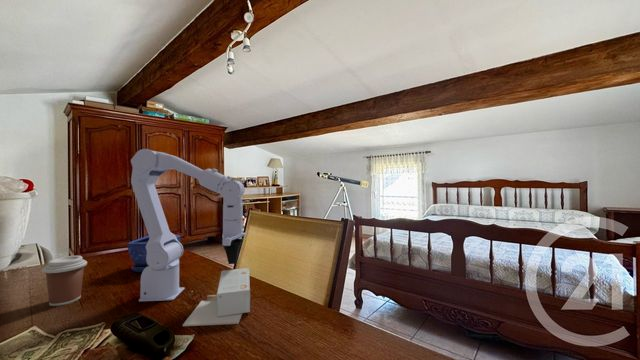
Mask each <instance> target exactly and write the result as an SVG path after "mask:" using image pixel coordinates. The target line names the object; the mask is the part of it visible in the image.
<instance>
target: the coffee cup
mask: <svg viewBox="0 0 640 360" xmlns="http://www.w3.org/2000/svg"><path fill="white" fill-rule="evenodd" d="M87 265H88V261H87V260H85V259H83V256H81V255H68V256H61V257H57V258H54V259H50V260H49V261H48V262H47V265H46V266H44V267H43V268H42V270H41V272H42V274H43V273H44V274H45V277H46V278H45V279H46V286H47V287H46V288H47V296H48V305H49V306H52V307H60V306H63V305H68V304H72V303H74V302H76V301H78V300H80V299H81V297H82V287H83V279H84V270H85V267H86V266H87Z"/></svg>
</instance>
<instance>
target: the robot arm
mask: <svg viewBox="0 0 640 360" xmlns="http://www.w3.org/2000/svg"><path fill="white" fill-rule="evenodd" d="M130 163H131V167H132V171H131V177H130V182H131V187H132V189H133V193H134V196H135V199H136V202H137V205H138V208H139V211H140V214H141V217H142V219H143V222H144V226H145V229H146V232H147V234H148V235H147V236H149V241H148V243H147V245H146V251H147V256H146V262H147V264H148V265H149V266H148V267H146V268H145V269H144V270H143V272H141V275H140V287H139V288H140V289H139V290H140V292H139V294H140V296H139V299H138V302H155V301H156V302H158V301H173V300H175V299H176V298H177V297H178V296H179V295H180V294H181V293H182V292H183V291H184V290H185V287H181V286H180V258H181V257H182V256H183V254H184V246H183V244H182V243H181V241H180V242H179V241H178V240H177V238H176V234H174V233H172V232H171V230H170V228H169V224H168V221H167V218H166V215H165V213H164V210H163V206H162V203H161V200H160V197H159V194H158V191H157V188H156V183H157V181H158V179H160V177H161V176H163V175H164V174H166V172H168V171H169V170H175V171H178V172H180V173H182V174H184V175H187V176H189V177H192V178H194V179H197V181H198V183H199V185H200V187H201V186H202V187H204V188H206V189H208V190H210V191H212V192H214V193H216V194H219V195H221V197H222V198H223V204H222V235H221V236H222V237H221V238H222V241H221V246H222V247H223V249H224V251H225V254H226V259H227V262H228V264H229V265H236V264H237V262H238V258H239V253H240V249H241V246H242V244H243V242H244V238H242V237H246V236H247V232H243V226H244V225H243V222H244V221H243V217H244V212H243V211H244V210H243V206H244V205H243V195H244V193H245V190H246V189H245V186H244V184H243V182H241V181H239V180H238V179H233V178H232V176H230V175H228V176H226V175H224V174H222V173H220V172H218V169H217V168H206V169H201V167H198V166H196V165H194V164H192V163H190V162H189V161H186V160H184V159H182V158H180V157H178V156H177V155H172V154H169V153H167V152H164V151H163V152H162V151H156V150H152V149H150V148H149V149H148V148H142V149H139V150H137V151H136V152H135V154H134V155H133V157H132V158H131V159H130ZM232 179H233V180H232Z"/></svg>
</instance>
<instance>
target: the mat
mask: <svg viewBox="0 0 640 360" xmlns="http://www.w3.org/2000/svg"><path fill="white" fill-rule="evenodd" d="M243 314H244V313H240V314H234V315H227V316H221V317H218V309H217V300H209V301H207V300H200V302H199V304H198V305H197V306H196V307H195V308H194V310H193V311H192V312H191V314H189V316H188V317H187V319H186V320H185V321H184V323H182V327H198V326H216V325H217V326H219V325H236V324H237V325H239V324H240V321H241V318H242V315H243Z"/></svg>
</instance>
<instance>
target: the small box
mask: <svg viewBox="0 0 640 360" xmlns="http://www.w3.org/2000/svg"><path fill="white" fill-rule="evenodd" d="M250 285H251V284H250V268H249V267H244V268H236V269H226V270H221V273H220V277H219V282H218V286H217V287H218V288H217V291H216V295H217V309H218V317H221V316H227V315H234V314H240V313H243V314H246V313H250V312H251V286H250Z"/></svg>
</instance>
